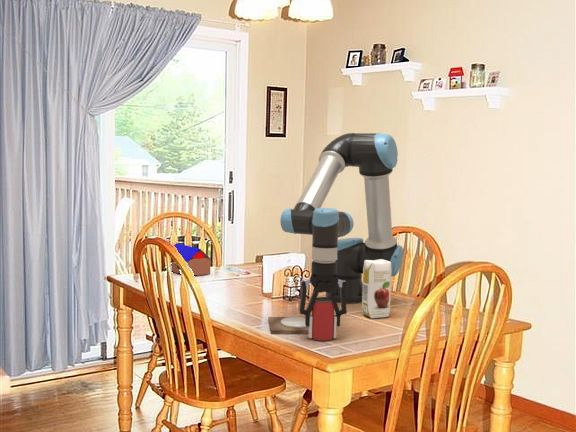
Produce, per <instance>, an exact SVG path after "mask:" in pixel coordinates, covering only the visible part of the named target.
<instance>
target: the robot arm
mask: <svg viewBox="0 0 576 432" xmlns="http://www.w3.org/2000/svg"><path fill="white" fill-rule="evenodd" d="M397 146H398V145H397V143H396V140H395V139H394V137H393V136H392V135H391V134H387V133H380V132H377V133H373V132H371V133H365V132H364V133H363V132H362V133H361V132H358V133H356V132H355V133H354V132H348V133H345V134H342V135H339V136H338V137H335V139H333V140H332V141H331V142H329V143H328V144H327V145H326V146H325V148H324V149H322V151H321V153H320V155H319V156H318V164H317V166H316V167H315V170H314V172H313V173H312V175H311V177H310V179H309V181H308V182H307V185H306V186H305V187H304V190H303V192H302V193H301V195H300V197H299V199H298V201H297V202H296V204H295V205H294V208H293V209H292V208H286V209H284V210H283V211H282V212H281V215H280V219H279V220H280V222H279V223H280V228H281V229H282V231H283V232H285V233H289V234H295V235H296V234H298V235H310V236H312V237H311V238H312V242H311V245H312V246H311V248H312V249H311V260H312V261H311V271H310V273H311V274H310V277H309V278H308V279H306V280H305V279H301V280H300V284H301V294H300V301H299V310H298V311H299V314H300V315H304V317H305V325H306V327H309V333H308V334H307V336H308V338H309V339H313V338H312V309H313V306H314V303H315V301H316V298H317V297H319V294H320V293H325V297H328V298H331V300H332V302H333V305H334V326H333V338H332V339H337V327H340V326H341V316H344V315H346V314H347V312H348V311H347V304H359V303H362V292H363V268H364V261H365V260H379V259H383V260H387V261H389V262H391V269H392V271H391V278H393V277H396V276H397V274H398V273H399V271H400V269H401V266H402V261H403V256H404V248H403V246H401V244H399V245H398V242H397V241H398V240H397V238H396V237H395V236H393V226H392V224H393V223H392V210H391V209H392V207H391V195H390V194H391V192H390V179H389V176H390V174H392V173H393V170H394V168H396V166H397V164H398V154H399V153H398V147H397ZM347 167H356V168H358V172H359V175H360V176H362V177H363V180H364V181H363V182H364V194H365V206H366V209H365V210H366V219H367V220H366V223H367V234H368V237H367V238H366V239H365V240H364V239H363V238H361V237H349V238H342V237H344V236H347V235H348V234H350V233H351V232H352V231H353V229H354V226H355V225H354V223H355V222H354V219H353V217H352V215H351V214H350V213H349V212H346V211H339V210H338V209H336V208H333V207H331V208H330V207H327V208H326V207H322V205H324V202H325V200H326V198H327V196H328V195H329V192H330V191H331V189H332V187H333V184H334V183H335V181H336V178H338V177H337V176H338V175H339V174H341V173H342V172H343V171H344V170H345V168H347ZM339 238H340V239H339ZM310 284H311V285H312V287H313V289H312V293H311V296H310V299H309V300H308V301H309V302H308V304H307V307H306V301H307V300H306V299H307V292H308V288H309V286H310ZM339 303H340V308H341V309H340V308H339ZM305 308H306V309H305Z"/></svg>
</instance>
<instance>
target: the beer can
mask: <svg viewBox="0 0 576 432" xmlns="http://www.w3.org/2000/svg"><path fill="white" fill-rule="evenodd" d="M311 315H312V338H311V339H313V340H315V341H318V342H327V341H329V342H330V341H331V340H332V339H334V338H333V326H334V315H335V310H334V305H333V302H332V300H331V298H328V297H326V296H317V298H316V301H315V303H314V306H313V309H312V311H311Z"/></svg>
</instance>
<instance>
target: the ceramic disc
mask: <svg viewBox="0 0 576 432" xmlns="http://www.w3.org/2000/svg"><path fill="white" fill-rule="evenodd" d="M289 317H290V318H285V319H282V320H281V324H282V325H283V326H286V327H291V328H309V327H306V325H305V318H303V317H304V316H289Z"/></svg>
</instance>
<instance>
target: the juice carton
mask: <svg viewBox="0 0 576 432" xmlns="http://www.w3.org/2000/svg"><path fill="white" fill-rule="evenodd" d="M391 271H392V269H391V262H389V261H387V260H383V259H379V260H365V261H364V268H363V274H362V283H363V292H362V302H361V310H362V311H361V313H362V314H363V316H366V317H368V318H370V319H379V318H388V317H389V316H390V309H391V297H392V296H391V294H392V293H391V292H392V291H391V289H392V277H391Z"/></svg>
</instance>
